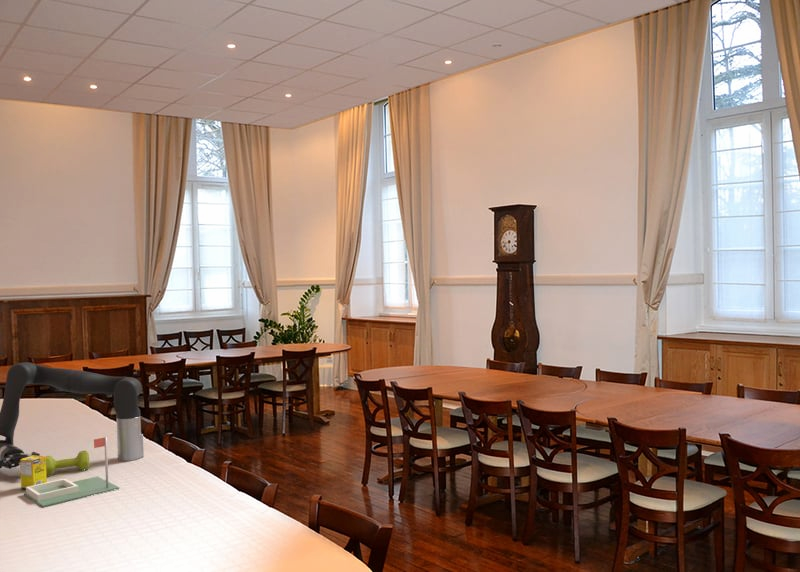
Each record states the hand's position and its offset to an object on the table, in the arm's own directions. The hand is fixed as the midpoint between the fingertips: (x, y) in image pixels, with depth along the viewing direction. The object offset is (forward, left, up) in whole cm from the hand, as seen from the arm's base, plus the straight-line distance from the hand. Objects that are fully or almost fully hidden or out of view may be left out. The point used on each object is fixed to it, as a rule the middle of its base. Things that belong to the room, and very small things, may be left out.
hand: (23, 463), depth 252 cm
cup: (-8, +27, -7) cm, 29 cm away
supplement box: (0, +11, -7) cm, 13 cm away
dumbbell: (-15, -1, -7) cm, 17 cm away
